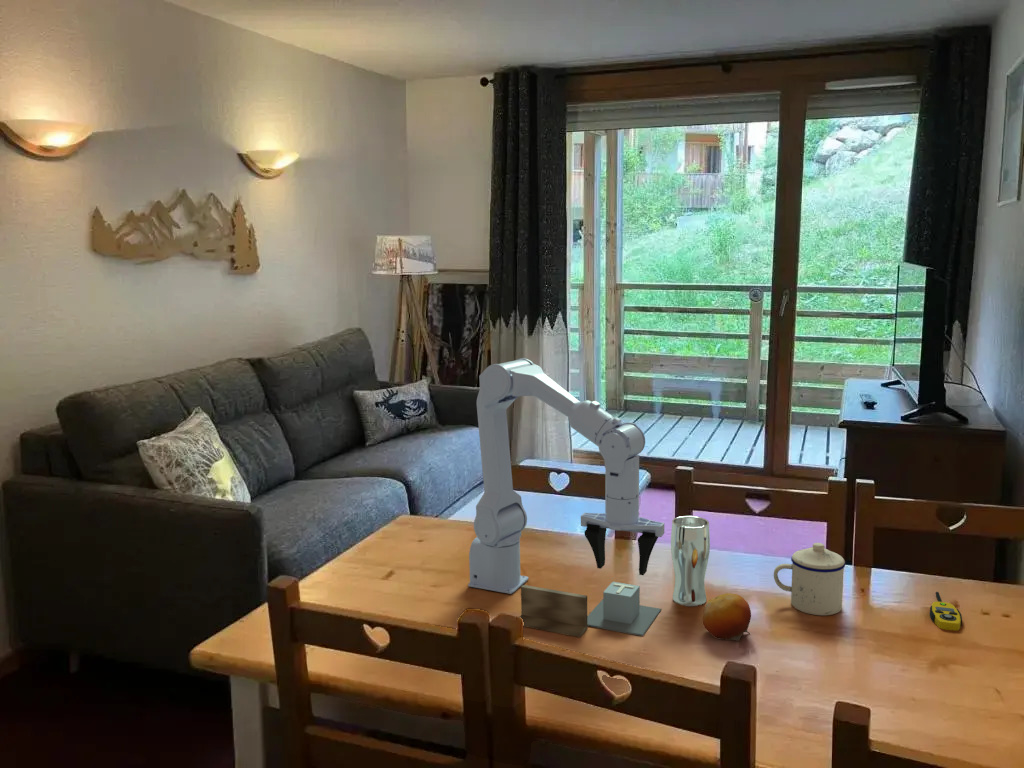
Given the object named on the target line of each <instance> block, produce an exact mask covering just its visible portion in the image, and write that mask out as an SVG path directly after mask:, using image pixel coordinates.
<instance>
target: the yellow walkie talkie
mask: <svg viewBox="0 0 1024 768" xmlns="http://www.w3.org/2000/svg"><path fill="white" fill-rule="evenodd" d="M935 596H936V599H937V601H933V602H932V604H931V605H930V607H929V618H930V620H931V621H932V623H934V624H935V626H936V627H938V628H939V629H941V630H946V631H955V632H956V631H959V630H960V629H961V626H962V623H963V617H962V614H961V611H960V610H959V608H956V607H955V605H953V604H952V603H950V602H947V601H946V602H945V601H942V598H941V595H940V593H939V591H936V592H935Z"/></svg>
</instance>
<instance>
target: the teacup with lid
mask: <svg viewBox="0 0 1024 768" xmlns="http://www.w3.org/2000/svg"><path fill="white" fill-rule="evenodd" d="M825 547H826V546H825V544H824V543H821V542H814V543H813V544H812V546H811V547H808V548H802V549H799V550H797V551H795V552H794V553H793V554H792V555H791V557H790V561H791V563H792V564H791V563H781V564H778V565H777V566H776V567H775V568H774V571H773V580H774V582H775V584H776V585H777V587H778V588H779V589H781V590H783V591H786V592H790V593H791V594H790V603H791V605H792V606H793V607H794V608H795V609H796V610H798V611H800V612H802V613H805V614H809V615H814V616H831V615H835V614H838V613H839V612H841V610H842V609H843V587H844V569H845V567H846V561H845V559H844V558H843V556H842V555H840V554H838V553H836V552H834V551H831V550H830V549H827V548H825ZM781 570H792V571H791V586H789V585H785V584H784V583H782V581H780V579H779V575H778V573H779V571H781Z"/></svg>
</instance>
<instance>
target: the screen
mask: <svg viewBox="0 0 1024 768" xmlns="http://www.w3.org/2000/svg"><path fill="white" fill-rule="evenodd" d="M520 598H521V599H520V605H521V606H520V607H521V614H520V615H519V617H521V618H522V619H523V622H524V626H523V627H525V626H526V627H525V628H529V627H531V628H530V629H534V628H535V629H536V630H540V631H541V630H542V631H546V632H549V633H555V634H561V635H566V636H571V637H576V638H581V637H582V636H583V635H584V633H585V632H586V631H587V630H588V626H587V616H588V595H587V594H586V595H585V594H581V593H580V594H579V593H573V592H567V591H562V590H558V589H550V588H544V587H539V586H533V585H527V584H523V585H521V586H520ZM527 626H528V627H527ZM535 629H534V630H535Z"/></svg>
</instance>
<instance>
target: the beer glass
mask: <svg viewBox="0 0 1024 768" xmlns="http://www.w3.org/2000/svg"><path fill="white" fill-rule="evenodd" d="M671 522H672V523H671V532H670V533H671V534H670V535H671V536H670V551H671V561H672V565H673V566H672V567H673V572H674V579H675V580H674V588H673V592H672V601H674V602H675V604H677V605H681V606H684V605H685V606H684V607H698V605H700V606H702V604H703V605H704V604H705V603H706V602H707V593H706V588H705V587H706V586H705V579H706V572H707V569H708V564H709V558H710V550H711V549H710V548H711V537H710V536H711V535H710V534H711V533H710V521H709V520H707V518H703V517H700V516H696V515H695V516H694V515H683V516H678V517H675V518H673V519H672V521H671Z"/></svg>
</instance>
